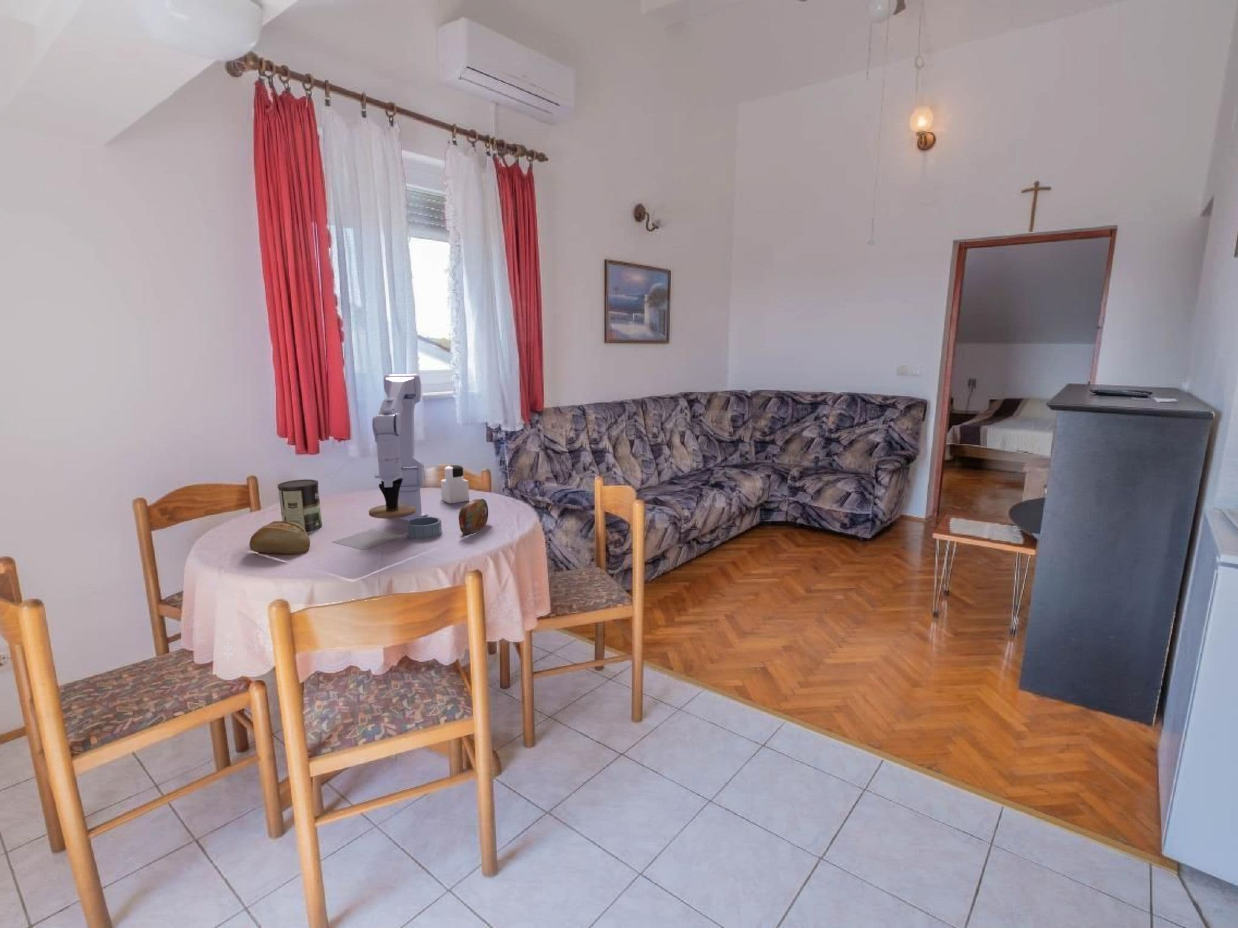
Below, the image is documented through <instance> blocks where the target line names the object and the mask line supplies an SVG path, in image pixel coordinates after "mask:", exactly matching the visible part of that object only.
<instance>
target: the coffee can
mask: <svg viewBox="0 0 1238 928" xmlns="http://www.w3.org/2000/svg"><path fill="white" fill-rule="evenodd" d="M277 489H278V496H279V506H280V513H281V521H291V522H295V523H298V524H299V525H301V526H302V527H303V528H304V529H305V531H306V533H307V534H310V533H314V532H317V531H319V530H321V529H323V522H322V511H321V501H320V493H319V491H320V490H319V480H316V479H306V478H304V479H294V480H288V481H287V480H286V481H284V482H281V483H278V484H277Z"/></svg>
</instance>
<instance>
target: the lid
mask: <svg viewBox="0 0 1238 928" xmlns="http://www.w3.org/2000/svg"><path fill="white" fill-rule="evenodd" d="M413 513H415V507H414V506H411V505H407V504H398V499H397V507H396V509H388V507H387V505H386V504H383V505H378V506H374V507H372V508H370V509H369V510H368V516H369V517H371V518H375V519H381V520H382V519H383V520H384V519H386V520H387V519H390V520H391V519H398V518H400V517H405V516H409V515H412V514H413Z"/></svg>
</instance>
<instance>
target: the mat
mask: <svg viewBox="0 0 1238 928" xmlns="http://www.w3.org/2000/svg"><path fill="white" fill-rule="evenodd" d="M403 537H404V536H403V535H401V534H400V535H399V534H396V533H390V532H387V531H382V530H376V529H372V528H371V529H368V530H365V531H362V532H359V533H356V534H352V535H349V536H347V537H346V536H345V537H343V538H339V539H336V540H333V541H332V543H334V544H338V545H342V546H346V547H350V548H354V549H358V550H361V551H365V550H368V549H371V548H373V547H377V546H380V545H382V544H383V545H384V544H385V543H387V542H391V541H395V540H397V539H400V538H403Z"/></svg>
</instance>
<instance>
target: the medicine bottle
mask: <svg viewBox="0 0 1238 928" xmlns="http://www.w3.org/2000/svg"><path fill="white" fill-rule="evenodd" d="M469 488H470V485H469V480H468V479H465V478H464V467H463V466H462V465H459V464H458V465H457V464H456V465H455V464H453V465H448V466H446V467H444V479H441V480H440V490H441V491H440V495H441V500H442V501H444V502H446V503H447V504H450V505H451V503H452V504H457V503H458V504H459V503H463V502H469V501H470V489H469Z"/></svg>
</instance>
